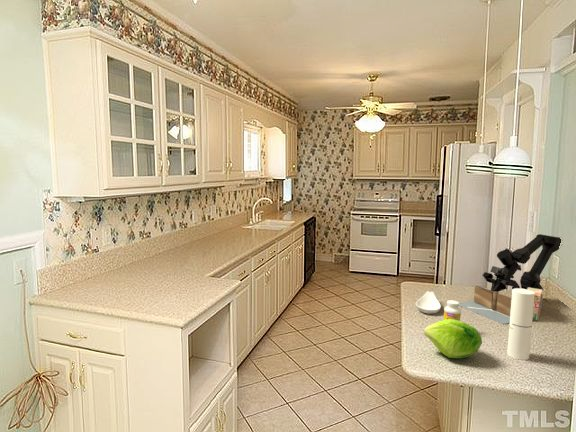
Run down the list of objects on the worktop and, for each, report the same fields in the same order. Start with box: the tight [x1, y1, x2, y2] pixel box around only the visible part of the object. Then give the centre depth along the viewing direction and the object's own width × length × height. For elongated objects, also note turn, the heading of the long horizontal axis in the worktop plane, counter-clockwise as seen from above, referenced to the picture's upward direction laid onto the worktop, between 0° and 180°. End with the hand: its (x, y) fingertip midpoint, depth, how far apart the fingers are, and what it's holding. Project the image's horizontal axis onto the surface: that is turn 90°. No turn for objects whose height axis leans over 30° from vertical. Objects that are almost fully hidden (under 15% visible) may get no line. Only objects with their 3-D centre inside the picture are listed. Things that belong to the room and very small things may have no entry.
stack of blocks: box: [527, 287, 544, 321], centre depth 190 cm, size 21×6×12 cm, turn 143°
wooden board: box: [473, 285, 493, 308], centre depth 199 cm, size 2×11×8 cm, turn 20°
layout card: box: [458, 300, 510, 325], centre depth 192 cm, size 16×29×1 cm, turn 20°
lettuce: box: [423, 319, 483, 359], centre depth 145 cm, size 15×20×14 cm
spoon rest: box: [415, 290, 442, 315], centre depth 196 cm, size 24×12×7 cm, turn 157°
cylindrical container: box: [506, 288, 535, 361], centre depth 144 cm, size 7×7×25 cm
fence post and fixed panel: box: [492, 291, 512, 317], centre depth 187 cm, size 2×15×10 cm, turn 20°
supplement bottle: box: [443, 299, 462, 321], centre depth 168 cm, size 7×7×13 cm
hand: (491, 293), depth 198 cm, fingers closed
